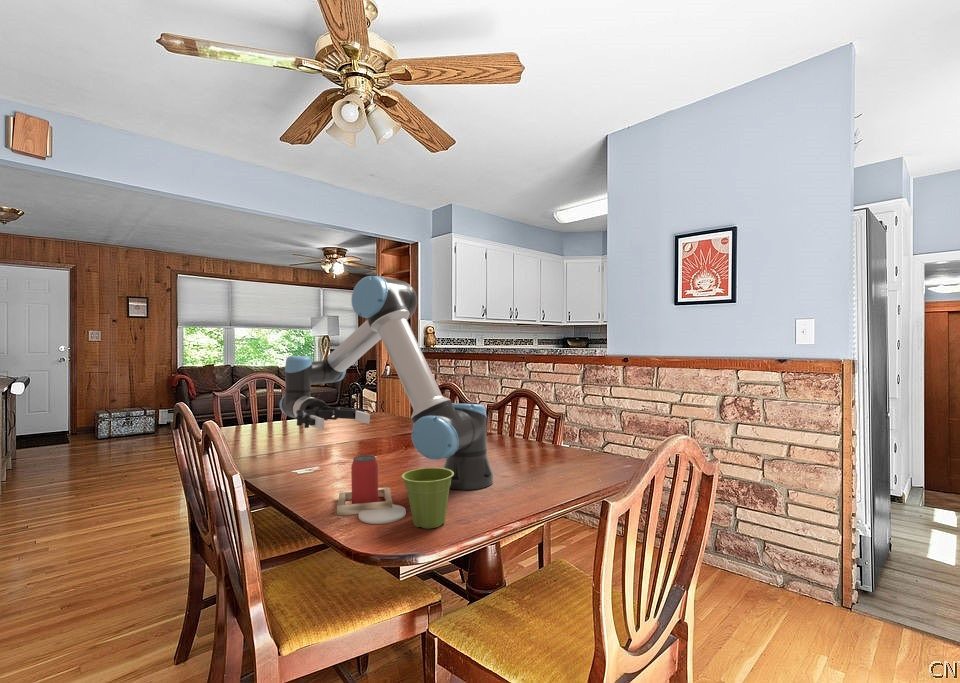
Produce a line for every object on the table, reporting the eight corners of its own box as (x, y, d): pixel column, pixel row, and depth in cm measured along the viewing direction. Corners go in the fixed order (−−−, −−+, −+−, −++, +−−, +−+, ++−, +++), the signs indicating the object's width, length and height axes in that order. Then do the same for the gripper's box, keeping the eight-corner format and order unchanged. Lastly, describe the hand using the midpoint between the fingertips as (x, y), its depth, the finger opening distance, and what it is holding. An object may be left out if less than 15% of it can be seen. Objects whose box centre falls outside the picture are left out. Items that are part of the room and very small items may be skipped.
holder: (389, 494, 132) (389, 487, 132) (392, 510, 120) (392, 502, 120) (339, 498, 129) (339, 491, 129) (337, 515, 117) (337, 507, 117)
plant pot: (434, 510, 120) (433, 464, 120) (465, 523, 111) (464, 474, 111) (392, 522, 112) (391, 473, 112) (421, 538, 103) (421, 484, 103)
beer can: (371, 509, 121) (371, 461, 121) (347, 508, 122) (346, 460, 122) (382, 501, 127) (381, 454, 127) (358, 499, 129) (358, 454, 129)
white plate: (403, 505, 123) (403, 502, 123) (407, 521, 113) (407, 517, 113) (358, 509, 121) (358, 506, 121) (358, 525, 110) (358, 522, 110)
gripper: (348, 418, 156) (385, 429, 140) (268, 427, 138) (300, 441, 123) (349, 394, 155) (386, 403, 140) (269, 401, 138) (301, 411, 123)
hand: (346, 421), depth 132 cm, fingers open, 13 cm apart
